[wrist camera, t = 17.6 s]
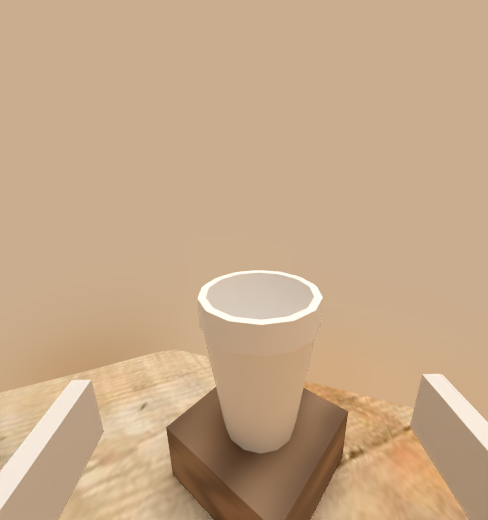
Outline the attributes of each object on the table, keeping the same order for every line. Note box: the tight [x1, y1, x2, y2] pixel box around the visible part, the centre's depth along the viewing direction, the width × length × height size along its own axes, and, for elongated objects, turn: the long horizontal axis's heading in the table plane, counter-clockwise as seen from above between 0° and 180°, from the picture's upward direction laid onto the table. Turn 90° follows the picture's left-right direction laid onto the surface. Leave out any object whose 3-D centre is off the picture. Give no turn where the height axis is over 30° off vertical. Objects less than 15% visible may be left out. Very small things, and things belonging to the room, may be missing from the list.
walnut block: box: [166, 387, 348, 520], centre depth 27 cm, size 12×12×6 cm
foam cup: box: [198, 270, 323, 454], centre depth 24 cm, size 10×9×13 cm
